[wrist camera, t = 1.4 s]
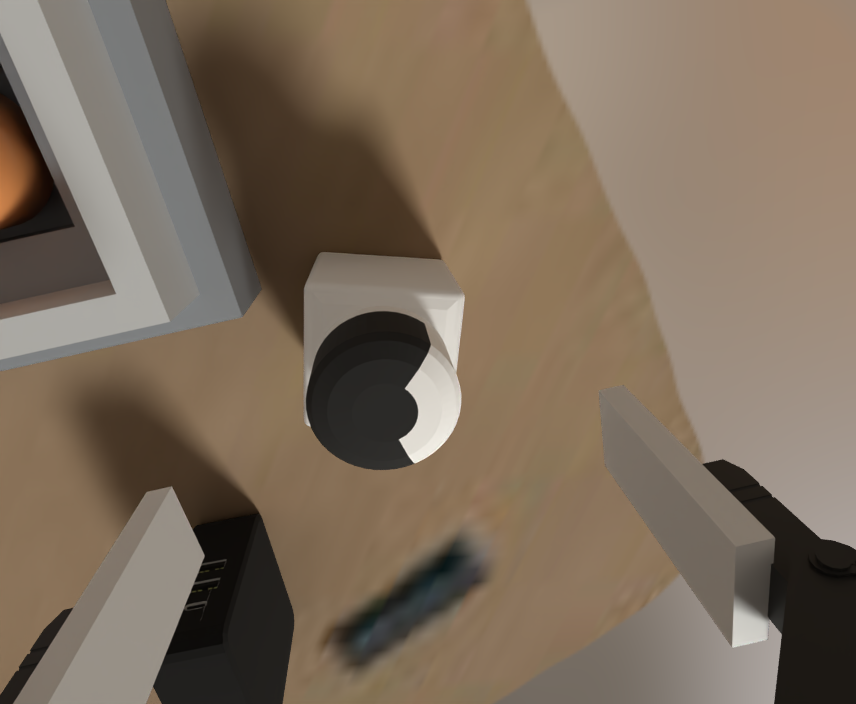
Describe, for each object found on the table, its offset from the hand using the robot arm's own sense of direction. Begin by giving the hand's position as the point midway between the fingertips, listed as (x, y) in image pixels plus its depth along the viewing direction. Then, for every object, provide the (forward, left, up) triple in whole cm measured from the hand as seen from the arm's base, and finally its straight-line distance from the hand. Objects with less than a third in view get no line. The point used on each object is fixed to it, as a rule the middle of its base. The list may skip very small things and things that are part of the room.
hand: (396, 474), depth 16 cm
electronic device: (-13, -16, -16) cm, 26 cm away
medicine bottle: (0, 0, -16) cm, 16 cm away
